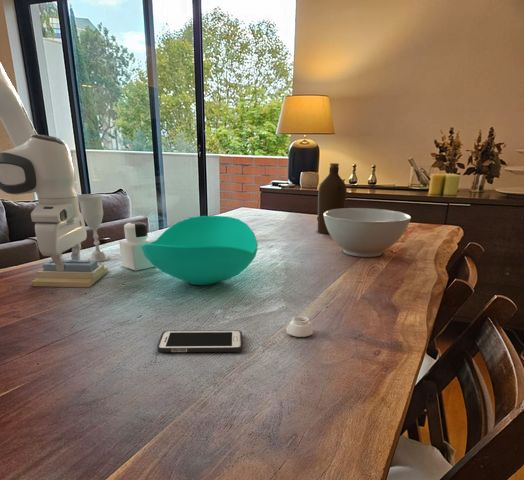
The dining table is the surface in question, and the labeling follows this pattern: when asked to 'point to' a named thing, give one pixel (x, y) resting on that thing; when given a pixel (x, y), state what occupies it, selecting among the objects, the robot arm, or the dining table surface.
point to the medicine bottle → (135, 246)
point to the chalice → (93, 220)
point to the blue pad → (73, 266)
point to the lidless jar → (299, 327)
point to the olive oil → (330, 196)
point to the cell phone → (201, 341)
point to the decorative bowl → (365, 229)
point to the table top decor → (203, 249)
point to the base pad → (69, 278)
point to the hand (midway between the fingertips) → (69, 265)
